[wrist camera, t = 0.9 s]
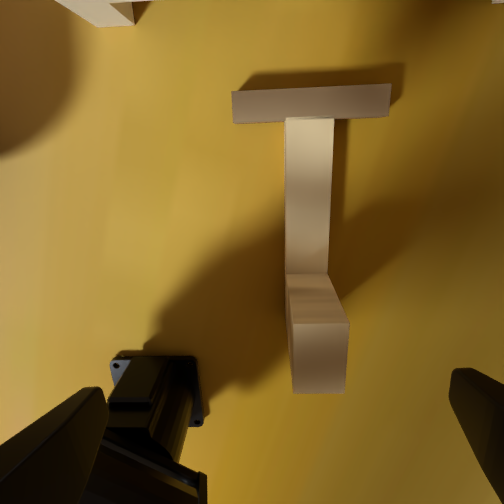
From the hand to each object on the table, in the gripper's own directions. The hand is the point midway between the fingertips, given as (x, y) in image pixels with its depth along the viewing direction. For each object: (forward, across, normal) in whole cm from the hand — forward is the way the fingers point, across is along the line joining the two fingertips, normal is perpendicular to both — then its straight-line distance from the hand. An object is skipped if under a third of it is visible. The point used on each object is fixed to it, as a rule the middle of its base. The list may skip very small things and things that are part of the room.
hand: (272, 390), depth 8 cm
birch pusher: (+13, -3, -1) cm, 13 cm away
